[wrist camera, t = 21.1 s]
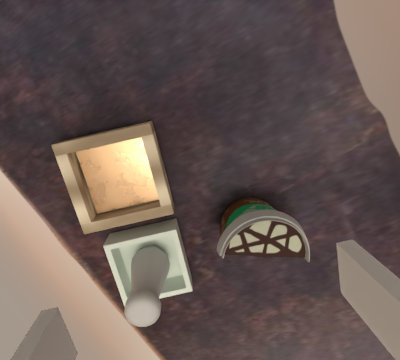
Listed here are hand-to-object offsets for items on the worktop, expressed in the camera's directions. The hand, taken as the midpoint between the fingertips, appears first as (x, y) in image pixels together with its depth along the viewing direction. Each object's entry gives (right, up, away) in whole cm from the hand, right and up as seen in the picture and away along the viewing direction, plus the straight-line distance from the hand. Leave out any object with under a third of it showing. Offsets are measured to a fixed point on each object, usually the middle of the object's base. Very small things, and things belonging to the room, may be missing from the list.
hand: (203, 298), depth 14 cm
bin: (-8, -7, +33) cm, 35 cm away
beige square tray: (-12, +6, +29) cm, 32 cm away
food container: (+8, +1, +33) cm, 33 cm away
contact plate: (-12, +6, +30) cm, 33 cm away
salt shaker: (-8, -7, +33) cm, 35 cm away
